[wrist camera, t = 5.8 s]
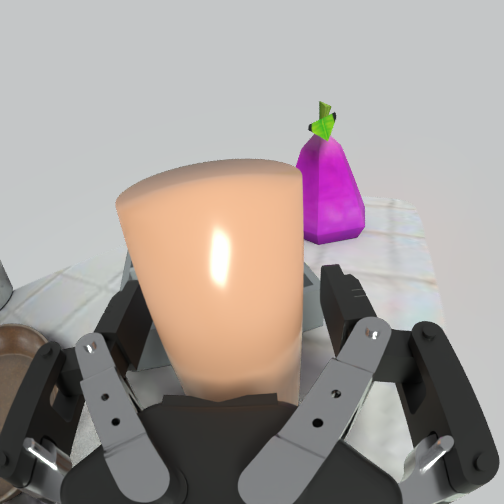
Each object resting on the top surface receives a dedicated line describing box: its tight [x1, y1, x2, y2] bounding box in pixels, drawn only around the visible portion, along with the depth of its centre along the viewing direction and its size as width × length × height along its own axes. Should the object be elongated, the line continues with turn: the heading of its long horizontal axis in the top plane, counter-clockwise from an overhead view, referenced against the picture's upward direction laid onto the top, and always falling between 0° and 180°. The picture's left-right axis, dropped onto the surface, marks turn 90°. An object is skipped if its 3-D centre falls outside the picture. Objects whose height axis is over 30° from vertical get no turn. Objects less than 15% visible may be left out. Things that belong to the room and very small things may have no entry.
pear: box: [296, 101, 365, 245], centre depth 31 cm, size 11×11×15 cm
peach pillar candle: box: [116, 159, 304, 406], centre depth 12 cm, size 6×6×13 cm
